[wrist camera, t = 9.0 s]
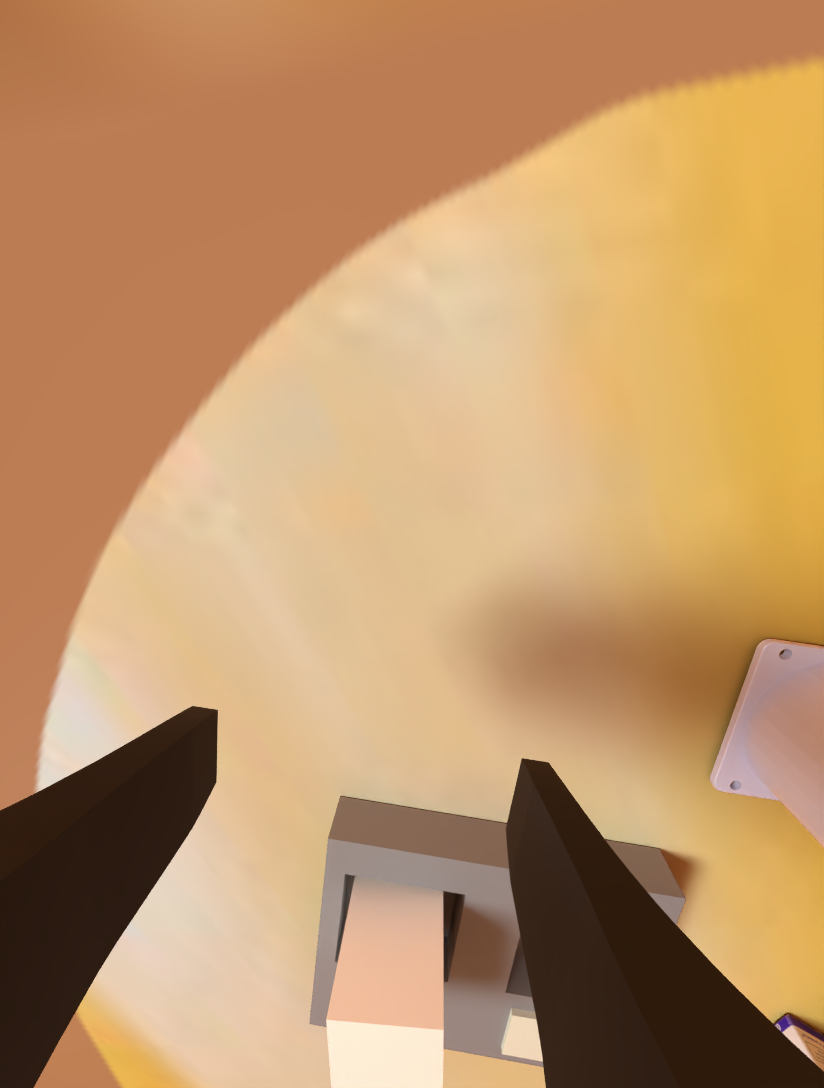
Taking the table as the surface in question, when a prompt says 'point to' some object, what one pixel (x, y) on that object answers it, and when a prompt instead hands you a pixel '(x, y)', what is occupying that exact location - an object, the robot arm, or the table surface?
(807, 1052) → the supplement box
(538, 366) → the table surface
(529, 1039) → the organiser tray
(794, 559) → the table surface
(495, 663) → the table surface
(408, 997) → the plug block
